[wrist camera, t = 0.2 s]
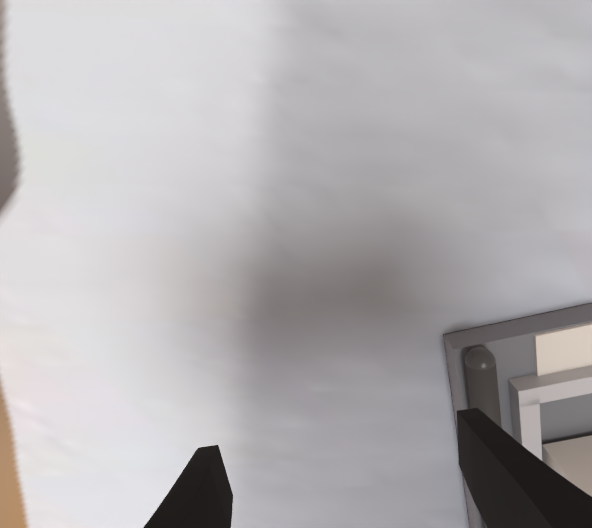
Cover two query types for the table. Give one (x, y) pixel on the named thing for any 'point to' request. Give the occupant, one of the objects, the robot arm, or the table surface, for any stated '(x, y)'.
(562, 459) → the orange-faced white block
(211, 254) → the table surface
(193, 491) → the robot arm
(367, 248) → the table surface
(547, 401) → the panel
